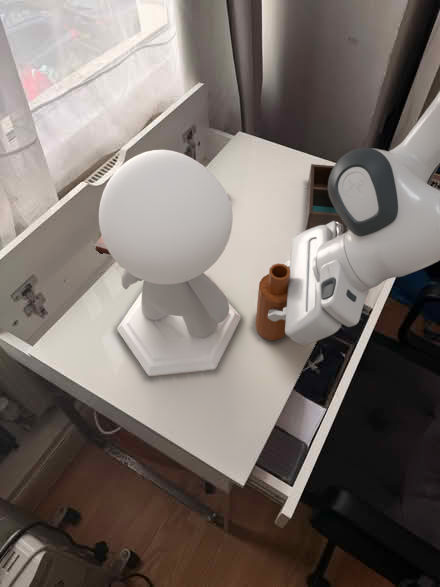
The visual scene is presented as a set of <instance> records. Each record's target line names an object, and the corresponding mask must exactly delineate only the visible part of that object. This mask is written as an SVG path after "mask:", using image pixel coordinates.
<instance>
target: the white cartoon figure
mask: <svg viewBox="0 0 440 587" xmlns="http://www.w3.org/2000/svg"><path fill="white" fill-rule="evenodd" d="M101 194H102V195H101V198H100V201H99V209H98V224H99V231H100V234H101V235H102V238H103V241H104V243H105V245H106V247H107V249H108V251H109V253H110V254H111V255H110V256H111V257H112V258H113V260H114V261H115V262H116V263H117V264H118V266H120V267H121V268H122V269H123V270H122V273H121V275H120V276H121V278H120V282H121V286H122V288H123V289H125V290H128V288H129V287H130V286H131V285H134V284H136V283H138V282H142V281H143V283H142V290H141V292H140V293H139V296H138V297H137V298H136V300H135V301H134V303H133V304H132V305H131V307H130V308H129V310H128V312H127V313H126V314H125V316H124V317H123V319H122V320H121V322H120V323H119V325H118V326H117V328H116V330H117V332H118V333H119V335H120V337H122V339H123V341H124V342H125V344H126V345H127V347H128V349H130V351H131V353H132V354H133V355H134V357H135V358H136V360H137V361H138V363H139V364H140V366H141V368H142V369H143V370H144V371H145V373H146V374H147V377H157V376H158V377H159V376H168V375H179V374H189V373H198V372H206V371H207V372H209V371H216V369H217V367H218V366H219V363H220V361H221V360H222V357H223V355H224V354H225V352H226V350H227V348H228V345H229V343H230V341H231V340H232V337H233V335H234V333H235V331H236V329H237V327H238V325H239V323H240V321H241V319H242V316H241V315H240V314H239V313H238V312H237V311H236V309H235V307H233V306H232V305H231V304H230V302H229V301H228V298H227V297H226V295H225V294H224V292H223V290H221V289H220V287H219V286H218V285H217V284H216V283H215V282H214V281H213V280H212V279H211V278H210V277H209V276H208V275H207V274H206V273H205V272H206V271H208V270H209V269H210V268H212V267H213V265H215V264H216V262H217V261H218V260H219V259H220V257H221V256H222V254H223V253H224V251H225V250H226V247H227V245H228V243H229V240H230V237H231V233H232V228H233V208H232V204H231V201H230V198H229V194H227V192H226V188H225V187H224V186H223V185H222V183H221V182H220V180H218V178H217V177H216V176H215V175H214V173H213V172H211V171H210V170H209V169H208V168H207V167H206V166H204V165H203V164H201V163H200V162H199V161H197V160H195V159H194V158H192V157H190V156H188V155H186V154H184V153H181V152H178V151H175V150H168V149H154V150H148V151H144V152H141V153H139V154H136V155H135V156H133V157H132V158H130V159H128V160H127V161H125V162H124V163H123V164H122V165H120V166H119V167H118V168H117V169H116V170H115V172H114V173H113V174H112V176H111V177H110V178H109V180H108V181H107V183H106V185H105V187H104V188H103V192H102V193H101ZM101 235H100V236H101Z"/></svg>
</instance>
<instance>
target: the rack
mask: <svg viewBox="0 0 440 587" xmlns="http://www.w3.org/2000/svg"><path fill="white" fill-rule="evenodd" d="M334 166H335V165H328V164H314V163H311V165H310V169H309V175H308V179H307V180H308V181H307V192H306V194H307V195H306V212H305V213H306V215H305V231H306V230H308V229H311V228H314V227H316V226H320V225H326V224H328V223H330V222H332V221H335V222H339V223H340V224H342V225H343V234H344V233H346V232H347V229H348V227H347V226H346V225H345V223H344V222H343V220H342V219H341V217H340V216H339V214H338V213H337V211H336V209H335V208H334V206H333V204H332V202H331V200H330V197H329V193H328V181H329V177H330V174H331V171H332V169H333V167H334Z"/></svg>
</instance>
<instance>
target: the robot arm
mask: <svg viewBox="0 0 440 587" xmlns="http://www.w3.org/2000/svg"><path fill="white" fill-rule="evenodd" d="M333 166H334V167H333V169H332V171H331V174H330V177H329V181H328V193H329V197H330V200H331V202H332V204H333V206H334V208H335V209H336V211H337V213H338V214H339V216H340V217H341V219H342V220H343V222H344V223H345V225H346V226H347V229H348V231H346V233H344V234H343V225H342V224H340V223H339V222H335V221H332V222H330V223H328V224H326V225H320V226H316V227H314V228H311V229H308V230H306V229H305V230H304V231H301V232H299V233H297V234H296V235H295V236H294V237H293V238H292V239H291V242H290V254H289V255H290V256H289V259H288V260H287V261H286V262H284V263H283V264H284V265H286V266H288V268H289V269H290V277H289V283H288V295H287V307H285V308H283V311H281V310H279V309H278V308H277V307H273V308H272V309H269V311H268V318H269V319H270V320H271V321H278V320H280V319H282V320H286V323H285V334H286V335H285V336H287V337H288V338H290V340H292V341H294V342H295V343H296V344H299V345H301V346H302V345H304V346H305V345H308V344H312V343H315V342H318V341H321V340H323V339H325V338H328V337H330V336H332V335H334V334H335V333H337V332H338V331H339V330H340V329H341V327H342V325H343V326H345V327H347V328H351V327H354V326H356V325H358V323H359V321H360V319H361V315H362V312H363V308H364V305H365V302H366V299H367V297H368V296H369V292H370V290H371V289H374V288H376V287H378V286H380V284H382V283H383V282H385V281H386V280H390V279H393V278H401V277H405V276H407V275H410V274H412V273H416V272H418V271H420V270H423V269H425V268H427V267H429V266H432V265H434V264H435V263H438V262H439V261H440V190H439V189H437V188H435V187H434V186H431V184H432V181H433V178H434V176H435V174H436V172H437V171H438V169H439V167H440V90H439V91H438V93H437V95H436V96H435V97H434V99H433V100H432V101H431V102H430V104H429V106H428V107H427V108H426V109H425V111H424V113H423V114H422V115H421V116H420V118H419V119H418V121H417V122H416V123H415V124H414V125H413V127H412V128H411V130H410V131H409V133H408V134H407V135H406V137H405V138H404V139H403V140H402V141H401V142H400V143H399V144H398V145H397V146H395V147H394V148H392V149H390V150H389V151H387V150H385V149H381V148H380V149H379V148H373V147H358V148H355V149H352V150H350V151H348V152H347V153H345V154H343V155H342V156H341V157H340V158H339V159H338V160H337V161H336V162H335V164H334V165H333Z"/></svg>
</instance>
